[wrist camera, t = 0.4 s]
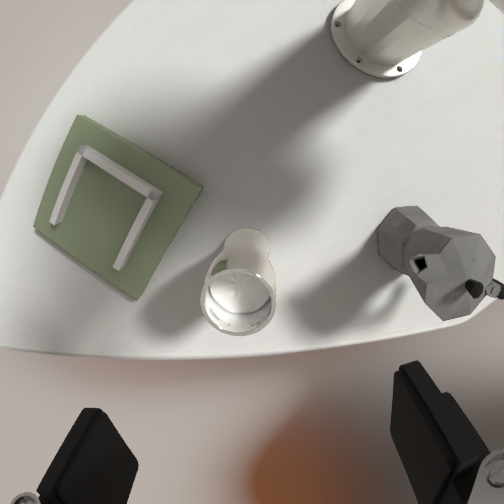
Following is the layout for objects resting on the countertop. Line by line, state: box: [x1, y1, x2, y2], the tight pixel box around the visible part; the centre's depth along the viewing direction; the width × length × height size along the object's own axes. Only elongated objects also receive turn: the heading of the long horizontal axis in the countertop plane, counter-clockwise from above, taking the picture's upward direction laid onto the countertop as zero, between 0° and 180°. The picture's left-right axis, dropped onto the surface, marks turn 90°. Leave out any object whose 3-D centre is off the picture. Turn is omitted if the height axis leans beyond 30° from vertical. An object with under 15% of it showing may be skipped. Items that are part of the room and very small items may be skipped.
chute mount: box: [33, 115, 203, 301], centre depth 38 cm, size 18×20×4 cm
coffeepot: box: [377, 206, 504, 321], centre depth 32 cm, size 15×9×18 cm, turn 75°
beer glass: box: [200, 228, 277, 336], centre depth 35 cm, size 7×7×15 cm
